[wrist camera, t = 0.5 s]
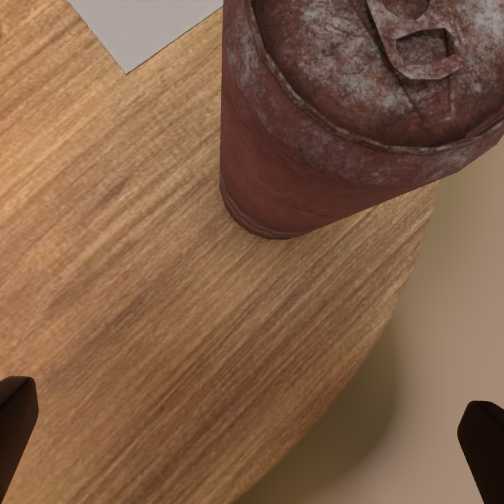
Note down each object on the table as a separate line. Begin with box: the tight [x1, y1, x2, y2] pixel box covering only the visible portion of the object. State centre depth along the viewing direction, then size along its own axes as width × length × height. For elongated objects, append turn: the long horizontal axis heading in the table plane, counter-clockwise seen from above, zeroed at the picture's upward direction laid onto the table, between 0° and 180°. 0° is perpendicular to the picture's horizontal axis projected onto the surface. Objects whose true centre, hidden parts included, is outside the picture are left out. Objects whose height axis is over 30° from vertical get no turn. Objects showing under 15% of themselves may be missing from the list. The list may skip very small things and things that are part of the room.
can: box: [220, 0, 504, 240], centre depth 13 cm, size 6×6×14 cm
